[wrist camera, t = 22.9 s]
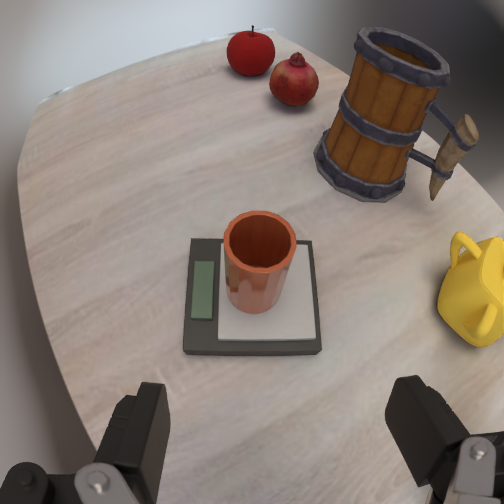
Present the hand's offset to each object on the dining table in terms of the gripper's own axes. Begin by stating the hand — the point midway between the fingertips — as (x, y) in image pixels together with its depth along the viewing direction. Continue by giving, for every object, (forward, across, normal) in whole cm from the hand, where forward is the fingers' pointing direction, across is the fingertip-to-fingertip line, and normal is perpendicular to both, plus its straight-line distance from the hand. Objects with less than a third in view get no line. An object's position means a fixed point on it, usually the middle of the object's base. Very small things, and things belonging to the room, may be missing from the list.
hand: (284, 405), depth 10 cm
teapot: (+22, -28, +7) cm, 36 cm away
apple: (+56, 0, -26) cm, 61 cm away
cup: (+21, 0, +4) cm, 21 cm away
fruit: (+48, -7, -18) cm, 52 cm away
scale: (+23, 0, +6) cm, 24 cm away
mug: (+36, -18, -7) cm, 41 cm away
